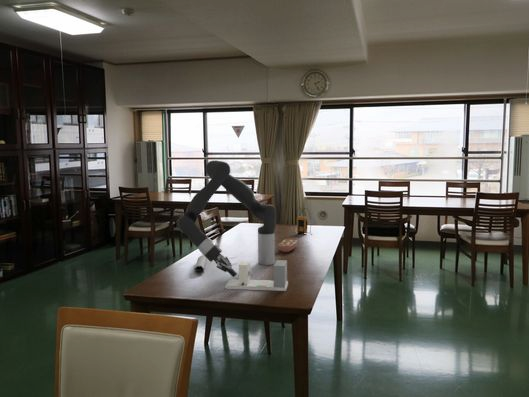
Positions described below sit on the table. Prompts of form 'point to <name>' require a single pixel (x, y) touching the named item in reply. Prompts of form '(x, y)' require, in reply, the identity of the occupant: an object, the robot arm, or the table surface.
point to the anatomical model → (287, 245)
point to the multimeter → (302, 223)
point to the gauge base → (277, 285)
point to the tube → (200, 265)
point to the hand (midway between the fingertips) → (235, 275)
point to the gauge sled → (244, 273)
